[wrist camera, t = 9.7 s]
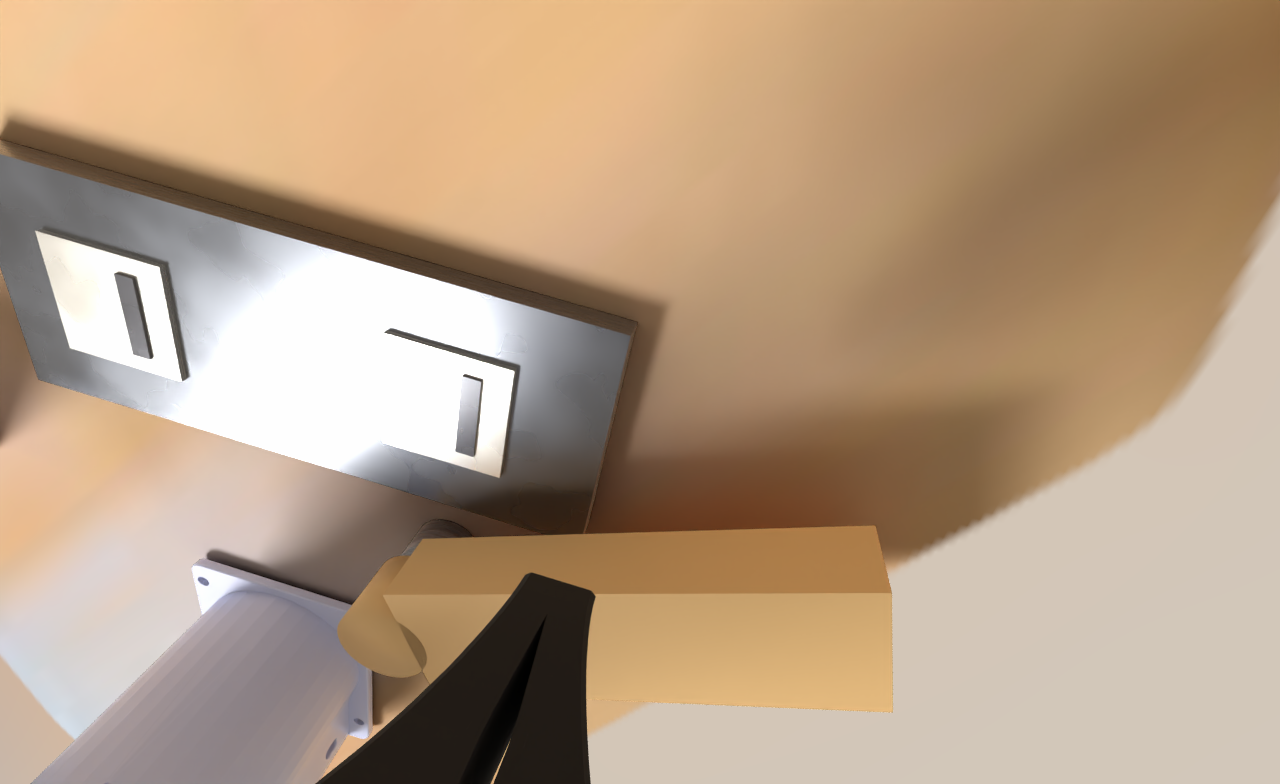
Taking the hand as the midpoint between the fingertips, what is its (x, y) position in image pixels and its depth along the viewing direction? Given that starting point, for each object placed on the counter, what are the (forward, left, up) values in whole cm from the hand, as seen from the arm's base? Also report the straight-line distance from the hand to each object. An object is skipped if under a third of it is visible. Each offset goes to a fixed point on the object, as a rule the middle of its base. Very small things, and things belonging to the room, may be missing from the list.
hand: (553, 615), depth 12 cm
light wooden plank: (-5, -1, -6) cm, 8 cm away
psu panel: (-1, +10, -8) cm, 13 cm away
